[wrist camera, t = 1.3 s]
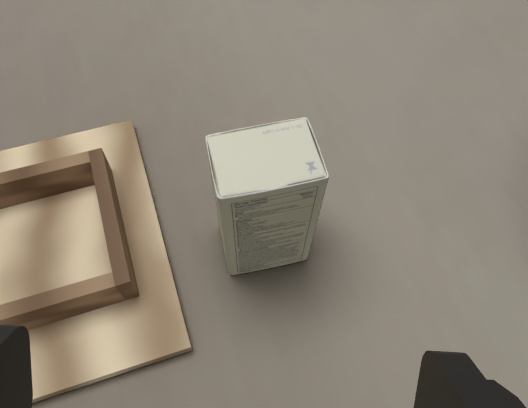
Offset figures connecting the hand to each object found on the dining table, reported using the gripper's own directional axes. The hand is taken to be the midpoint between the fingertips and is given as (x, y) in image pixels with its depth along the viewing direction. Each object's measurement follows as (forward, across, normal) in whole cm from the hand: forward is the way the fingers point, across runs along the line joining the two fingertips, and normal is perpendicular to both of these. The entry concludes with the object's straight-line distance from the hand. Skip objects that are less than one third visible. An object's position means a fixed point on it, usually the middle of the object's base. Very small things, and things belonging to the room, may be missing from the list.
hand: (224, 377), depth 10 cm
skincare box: (+26, -1, +6) cm, 27 cm away
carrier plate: (+25, +14, +8) cm, 30 cm away
